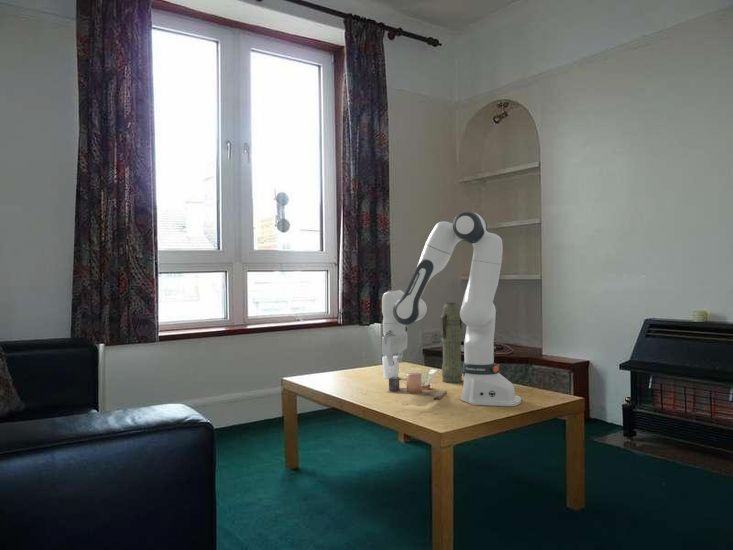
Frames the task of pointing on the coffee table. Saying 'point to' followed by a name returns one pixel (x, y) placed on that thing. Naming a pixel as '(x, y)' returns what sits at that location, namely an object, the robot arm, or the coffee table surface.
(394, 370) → the white cup
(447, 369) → the thermos
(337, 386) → the coffee table surface
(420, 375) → the terracotta upright block
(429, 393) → the walnut strip
